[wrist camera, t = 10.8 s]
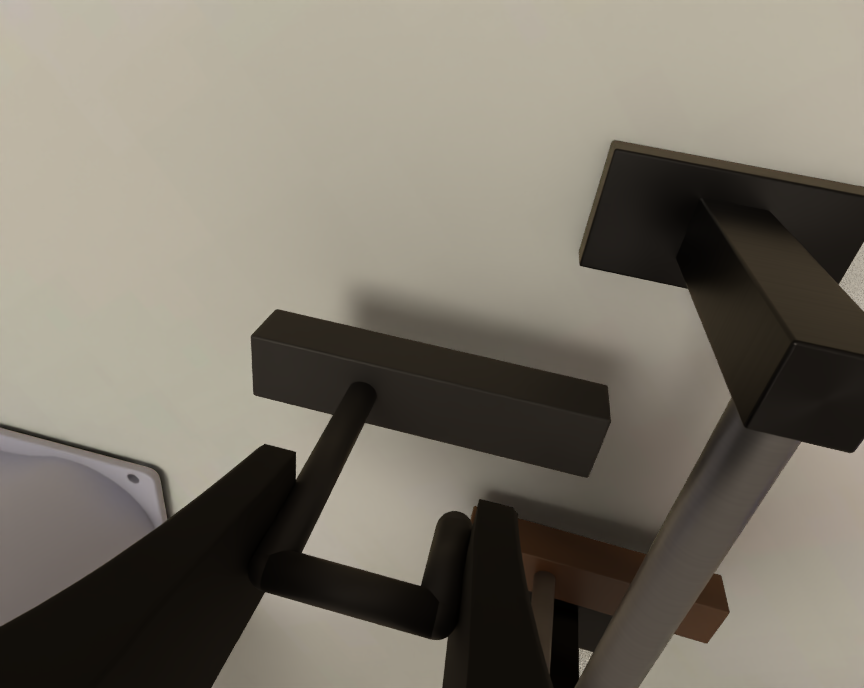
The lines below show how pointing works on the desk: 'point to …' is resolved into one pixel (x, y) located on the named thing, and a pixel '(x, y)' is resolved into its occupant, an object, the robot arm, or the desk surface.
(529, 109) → the desk surface
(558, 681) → the rail stand
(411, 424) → the black hanger
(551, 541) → the walnut hanger
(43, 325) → the desk surface
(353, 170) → the desk surface
